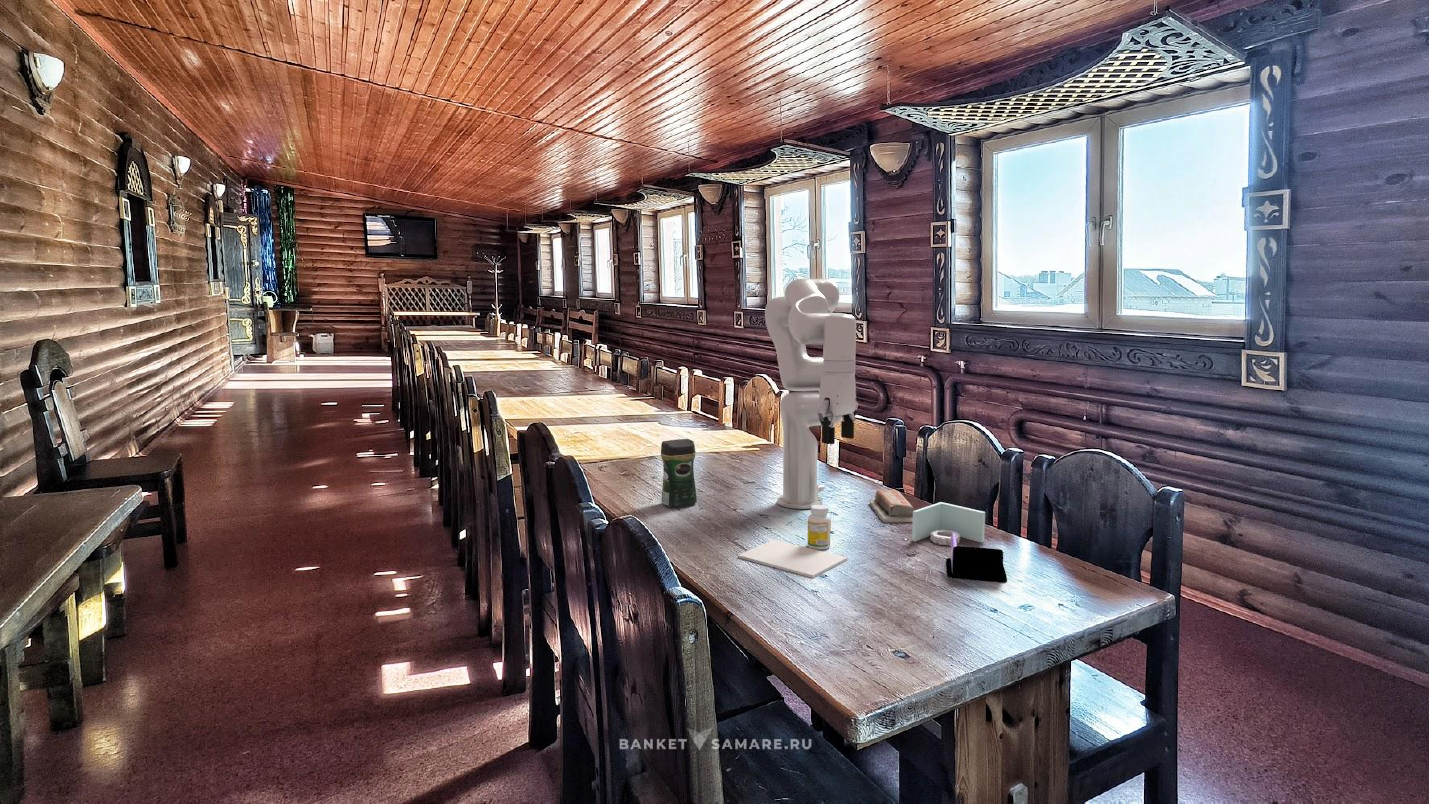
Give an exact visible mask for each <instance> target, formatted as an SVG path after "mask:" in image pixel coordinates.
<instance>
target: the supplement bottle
mask: <svg viewBox="0 0 1429 804" xmlns="http://www.w3.org/2000/svg"><path fill="white" fill-rule="evenodd" d="M831 520H832V519H831V516H830V515H829V506H827V505H824V504H822V505H812V506H811V508H810V514H809V515H808V517H807V546H808V547H807V548H810V549H815V550H819V551H823V550H828V549H830V546H831V524H832V521H831Z"/></svg>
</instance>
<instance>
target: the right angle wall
mask: <svg viewBox="0 0 1429 804" xmlns="http://www.w3.org/2000/svg"><path fill="white" fill-rule="evenodd" d="M985 526H986V512H985V511H983V510H977V509H973V508H970V507H965V506H960V505H956V504H951V503H946V502H942V501H939V502H937V503H934V504H930V505H927V506H924V507H922V508H919V509H916V510H915V511H913V522H912V529H911V541H912V542H917V541H921V540H923V539H926V538H929V537H930V538H929V540H930V541H931V542H933V543H934V544H938V545H943V546H951V541H952V533H955V534H956V542H957V545H958V544H959V543H960V541H961V538H962V539H963V538H964V539H966V540H970V541H974V542H978V543H984V542H985V531H986V529H985V528H986V527H985Z"/></svg>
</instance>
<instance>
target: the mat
mask: <svg viewBox="0 0 1429 804" xmlns="http://www.w3.org/2000/svg"><path fill="white" fill-rule="evenodd" d="M737 558H738V559H742V560H745V559H746V560H745V561H750V562H753V563H756V564H761V565H764V566H766V567H767V566H768V567H770V568H774V567H775V569H779V570H782V571H786V572H789V571H791V572H790V573H793V572H794V574H796V573H797V574H796V575H801V576H804V577H808V578H813V579H814V578H816V577H818V576H820V575H822V574H824V573H826V572H827V571H829V570H831V569H833V568H835V567H838V566H839V565H841V564H843V563H845V562H847V561H848V556H847V557H846V556H842V555H839V554H835V553H830V552H826V551H823V550H816V549H812V548H810V547H806V546H803V545H798V544H793V543H790V542H785V541H781V540H778V539H773V540H770V541H767V542H766V543H763V544H761V545H759V546H755V547H754V548H751V549H749V550H746V551H744V552H742V553H740V554H737Z"/></svg>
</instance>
